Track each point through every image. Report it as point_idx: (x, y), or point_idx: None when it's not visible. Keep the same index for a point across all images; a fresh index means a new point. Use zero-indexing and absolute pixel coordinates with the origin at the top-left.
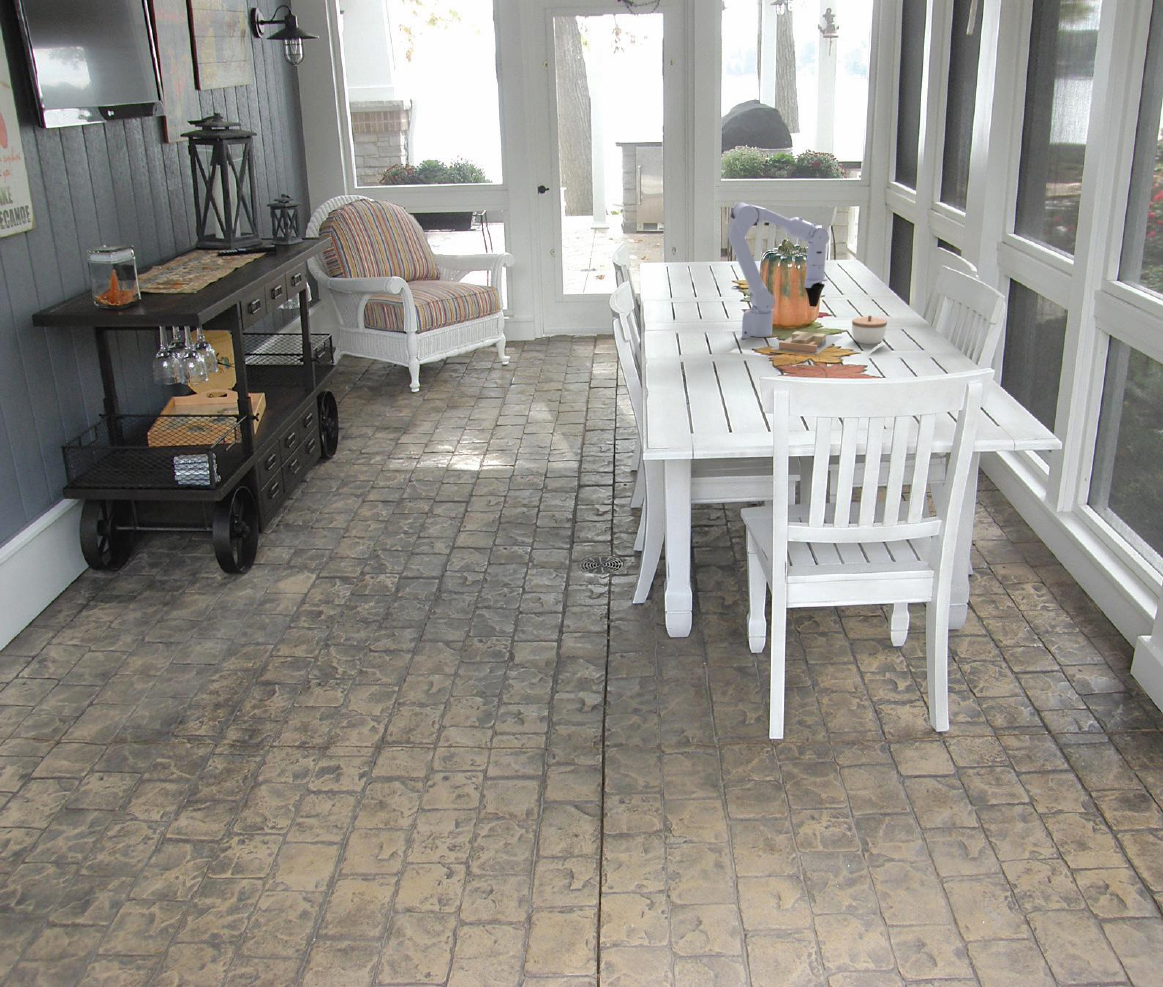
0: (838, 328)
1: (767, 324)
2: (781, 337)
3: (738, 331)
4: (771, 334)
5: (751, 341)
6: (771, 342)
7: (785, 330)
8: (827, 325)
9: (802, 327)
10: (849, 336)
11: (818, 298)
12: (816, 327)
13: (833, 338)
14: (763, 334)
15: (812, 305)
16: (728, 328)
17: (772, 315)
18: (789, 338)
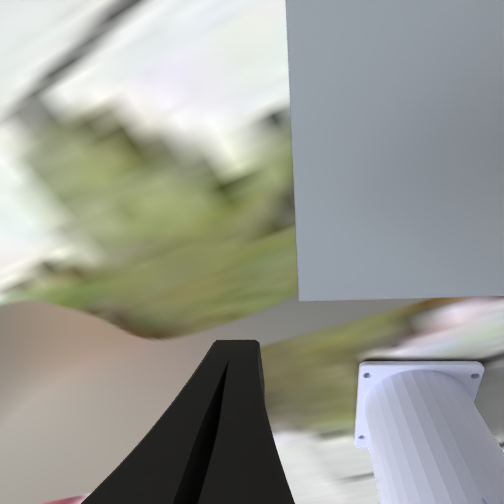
0: (11, 177)
1: (491, 444)
2: (363, 338)
3: (329, 471)
4: (422, 380)
5: (491, 407)
6: (489, 343)
7: None
8: (5, 251)
9: (125, 327)
10: (137, 9)
11: (204, 407)
12: (80, 279)
13: (375, 32)
14: (474, 404)
15: (261, 375)
16: (301, 498)
17: (468, 487)
18: (471, 290)
